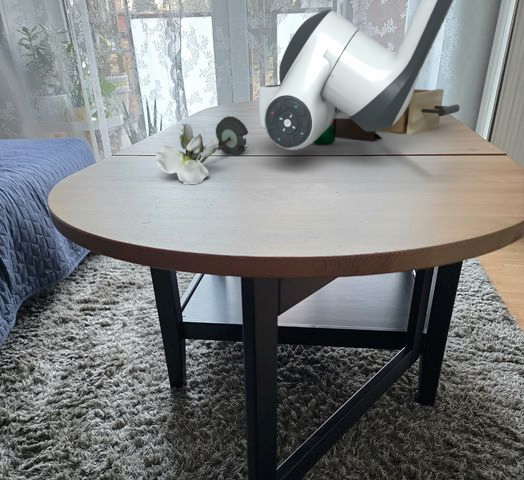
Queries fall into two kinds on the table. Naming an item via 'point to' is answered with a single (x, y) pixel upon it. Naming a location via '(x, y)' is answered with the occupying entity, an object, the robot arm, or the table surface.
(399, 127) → the drawer
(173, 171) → the artificial flower
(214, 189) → the table surface
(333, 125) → the soda can
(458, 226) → the table surface
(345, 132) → the cabinet
